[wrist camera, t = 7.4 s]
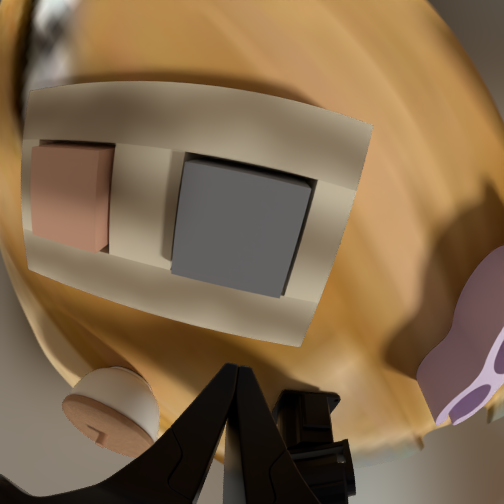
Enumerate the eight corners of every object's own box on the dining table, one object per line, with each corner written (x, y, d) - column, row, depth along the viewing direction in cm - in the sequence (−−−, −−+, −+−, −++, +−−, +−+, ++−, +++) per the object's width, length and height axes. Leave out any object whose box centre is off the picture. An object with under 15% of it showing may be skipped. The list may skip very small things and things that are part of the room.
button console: (295, 309, 21) (300, 347, 17) (58, 248, 21) (28, 269, 17) (349, 128, 16) (373, 125, 12) (66, 93, 15) (29, 91, 11)
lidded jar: (175, 418, 29) (156, 478, 21) (102, 396, 29) (76, 447, 21) (166, 364, 25) (135, 439, 16) (81, 340, 25) (39, 397, 17)
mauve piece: (451, 387, 25) (469, 424, 19) (393, 374, 24) (412, 424, 18) (540, 262, 18) (573, 288, 11) (502, 211, 17) (551, 237, 10)
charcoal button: (278, 266, 18) (279, 298, 15) (190, 246, 18) (170, 273, 14) (302, 178, 16) (311, 188, 12) (204, 157, 16) (185, 161, 12)
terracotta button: (125, 231, 18) (95, 253, 14) (65, 217, 18) (32, 234, 14) (133, 146, 16) (99, 150, 12) (68, 141, 16) (31, 146, 12)
